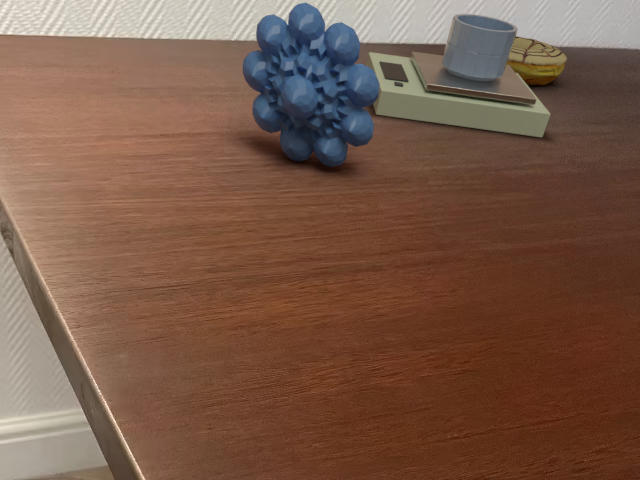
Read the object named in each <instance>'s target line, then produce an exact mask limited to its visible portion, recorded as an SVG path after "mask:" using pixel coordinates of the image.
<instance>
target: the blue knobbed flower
mask: <svg viewBox="0 0 640 480" xmlns="http://www.w3.org/2000/svg"><path fill="white" fill-rule="evenodd" d="M255 36H256V42H257V45H258V47H259V49H258V50H251V51H250V52H249V53H248V54H247V55H246V56H245V57H244V59H243V61H242V74H243V77H244V80H245V82H246V83H247V85H248V86H249V87H250V88H251V89H252V90H253V91H256V92H258V93H259V94H257V96H256V97H255V98H254V100H253V101H252V108H251V109H252V110H251V111H252V117H253V120H254V122H255V123H256V125H257V126H258V127H259V128H260V129H262V130H263V131H264V132H267V133H269V134H273V133H277V132H279V133H280V134H279V144H280V148H281V150H282V152H283V153H284V155H285V156H286V157H287V158H289V160H292V161H294V162H296V163H299V162H303V161H307V160H309V158H310V157H311V156H312V155H313V154H314V156H315V157H316V159H317V160H318V161H319V162H320V163H321V164H322V165H324V166H326V167H328V168H335V167H339V166H342V165H343V164H344V162H346V160H347V156H348V149H349V145H351V146H352V147H354V148H357V147H362V146H366V145H368V144H369V143H370V141H371V140H372V139H373V137H374V128H375V123H374V120H373V118H372V116H371V114H370V112H369V111H368V110H367V109H365V108H366V107H370V106H372V105H373V103H374V102H375V101H376V100H377V99H378V93H379V86H380V83H379V81H378V78H377V76H376V74H375V73H374V71H373V70H372V69H371V68H369V67H367V66H366V64H363V63H361V62H360V63H356V62H357V61H358V60H359V59H360V52H361V50H360V49H361V41H360V38H359V36H358V34H357V32H356V30H355V29H354V28H353V27H351V26H349V25H348V24H346V23H344V22H342V21H340V22H335V23H331V24H330V25H328V27H327V28H326V22H325V19H324V17H323V15H322V14H321V11H320V9H319V8H317V7H315V6H313V5H312V4H310V3H308V2H302V3H298V4H296V5H295V6H294V7H293V8H292V9H291V10H290V12H289V13H288V21H287V22H286V20H285V19H284V18H281V17H280V16H278V15H276V14H268V15H265V16H263V17H262V18H261V19H260V21H259V22H258V23H257V24H256V32H255Z"/></svg>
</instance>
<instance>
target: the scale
mask: <svg viewBox="0 0 640 480" xmlns="http://www.w3.org/2000/svg"><path fill="white" fill-rule="evenodd" d="M365 66H367V67H369V68H371V69H372V70H373V71H374V73H375V74H376V76H377V78H378V81H379V83H380V86H379V93H378V99H377V100H376V101H375V102H374V103H373V109H374V113H375V115H376V116H382V117H388V118H389V117H390V118H397V119H404V120H410V121H419V122H426V123H432V124H433V123H434V124H439V125H440V124H442V125H447V126H448V125H449V126H455V127H463V128H470V129H477V130H484V131H491V132H498V133H506V134H512V135H521V136H528V137H535V138H544V134H545V132H546V128H547V126H548V123H549V120H550V117H551V112H550V111H549V110H548V108H547V107H546V106H545V105H544V104H543V103H542V102H541V100H540V99H539V97H538V96H537V95H536V94H535V93H534V91H533V90H532V89H531V88H530V86H529V85H527V84H526V83H525V82H524V80H523V79H522V78H521V77H520V75H519V74H518V73H516V74H517V75H518V77H519V78H520V79H521V80H522V82H523V83H524V84H525V85H526V87H527V88H528V89H529V90H530V92H531V93H532V94H533V95H534V97H535V98H536V99H537V100H536V103H535V105H530V104H523V103H516V102H509V101H502V100H495V99H488V98H480V97H473V96H466V95H459V94H452V93H445V92H438V91H430V90H426V88H425V86H424V84H423V82H422V80H421V78H420V76H419V73H418V71H417V69H416V67H415V65H414V63H413V61H412V59H411V57H407V56H400V55H394V54H388V53H387V54H386V53H379V52H373V51H368V54H367V59H366V63H365Z"/></svg>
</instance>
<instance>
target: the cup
mask: <svg viewBox="0 0 640 480" xmlns="http://www.w3.org/2000/svg"><path fill="white" fill-rule="evenodd" d="M518 31H519V28H518V27H517V26H516V25H515V24H513V23H511V22H508V21H506V20H502V19H499V18H496V17H492V16H487V15H481V14H471V13H460V14H454V16H453V17H452V21H451V24H450V28H449V32H448V36H447V39H446V43H445V47H444V51H443V55H442V56H443V58H442V62H441V63H442V65H443V66H444V67H446V70H447V71H448V72H449V73H450V74H452V75H454V76H457V77H460V78H463V79H467V80H472V81H479V82H491V81H494V80H496V78H500V77H502V76H503V75H504V72H505V69H506V66H507V62H508V59H509V56H510V52H511V50H512V47H513V43H514V40H515V37H517V33H518Z"/></svg>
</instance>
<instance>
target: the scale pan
mask: <svg viewBox="0 0 640 480" xmlns="http://www.w3.org/2000/svg"><path fill="white" fill-rule="evenodd" d="M410 58H411V59H412V61H413V63H414V65H415V67H416V69H417V71H418V73H419V76H420V78H421V80H422V82H423V84H424V86H425V88H426V90H430V91H438V92H445V93H452V94H459V95H466V96H473V97H480V98H488V99H495V100H502V101H509V102H516V103H523V104H530V105H535V103H536V100H537V99H536V98H535V97H534V95H533V94H532V93H531V92H530V90H529V89H528V88H527V87H526V85H525V84H524V83H523V82H522V80H521V79H520V78H519V77H518V75H517V74H516V73H515V72H514V70H513V69H512V68H511V67H510V65H507V66H506V69H505V72H504V75H503V76H502V77H500V78H496V80H494V81H491V82H479V81H472V80H467V79H463V78H460V77H457V76H454V75H452V74H450V73H449V72H448V71H447V70H446V67H444V66H443V65H442V63H441V62H442V58H443V55H440V54H434V53H427V52H420V51H413V50H412V51H411V53H410Z"/></svg>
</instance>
